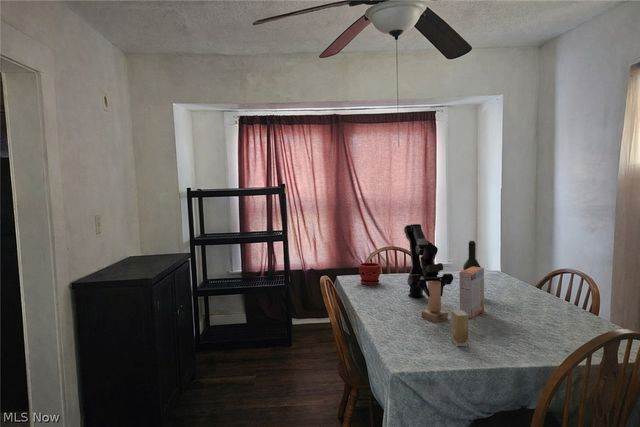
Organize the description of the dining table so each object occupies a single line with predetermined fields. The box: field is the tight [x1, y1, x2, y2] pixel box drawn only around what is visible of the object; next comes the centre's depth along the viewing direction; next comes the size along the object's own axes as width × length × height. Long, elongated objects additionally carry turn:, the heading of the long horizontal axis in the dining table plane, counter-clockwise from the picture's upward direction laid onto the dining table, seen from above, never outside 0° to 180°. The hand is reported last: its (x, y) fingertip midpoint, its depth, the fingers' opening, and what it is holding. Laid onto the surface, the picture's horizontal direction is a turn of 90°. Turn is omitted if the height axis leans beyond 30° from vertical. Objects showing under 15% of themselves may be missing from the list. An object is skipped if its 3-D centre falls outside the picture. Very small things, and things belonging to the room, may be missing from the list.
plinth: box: [421, 309, 449, 323], centre depth 171 cm, size 8×8×3 cm
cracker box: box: [459, 266, 485, 320], centre depth 174 cm, size 14×6×21 cm, turn 134°
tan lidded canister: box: [427, 280, 442, 312], centre depth 170 cm, size 6×6×13 cm
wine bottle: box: [462, 240, 482, 271], centre depth 198 cm, size 8×8×30 cm
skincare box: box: [450, 309, 470, 347], centre depth 143 cm, size 6×4×12 cm
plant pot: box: [358, 262, 382, 286], centre depth 233 cm, size 13×13×12 cm
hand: (435, 296), depth 169 cm, fingers closed on tan lidded canister, 5 cm apart
